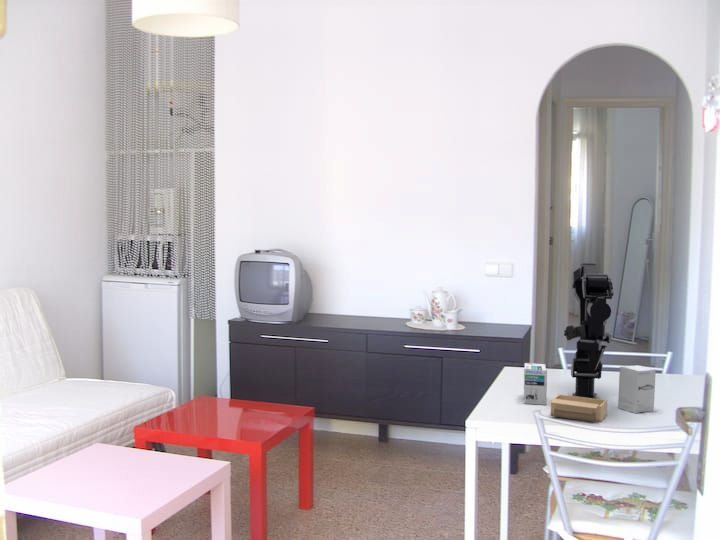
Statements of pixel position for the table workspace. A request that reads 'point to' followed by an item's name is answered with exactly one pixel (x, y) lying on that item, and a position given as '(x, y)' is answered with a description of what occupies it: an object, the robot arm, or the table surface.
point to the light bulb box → (535, 383)
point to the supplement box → (636, 388)
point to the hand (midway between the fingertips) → (593, 370)
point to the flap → (574, 410)
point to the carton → (602, 404)
